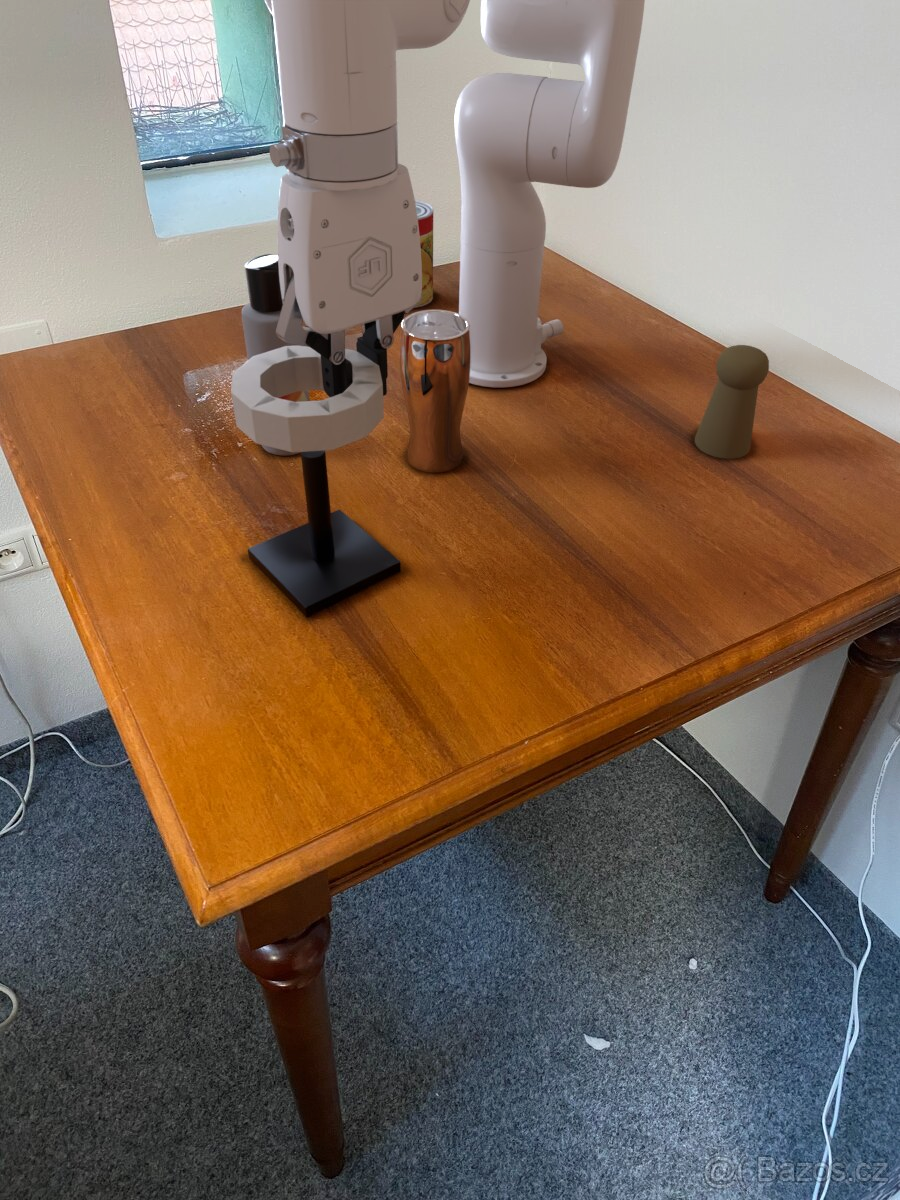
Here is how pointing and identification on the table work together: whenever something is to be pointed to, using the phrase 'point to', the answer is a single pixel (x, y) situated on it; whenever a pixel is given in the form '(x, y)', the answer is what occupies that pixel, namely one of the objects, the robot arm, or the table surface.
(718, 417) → the olive pawn figure
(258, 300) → the lotion bottle
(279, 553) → the post
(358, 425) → the tape roll
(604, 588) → the table surface
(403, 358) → the beer glass
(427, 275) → the canned food
